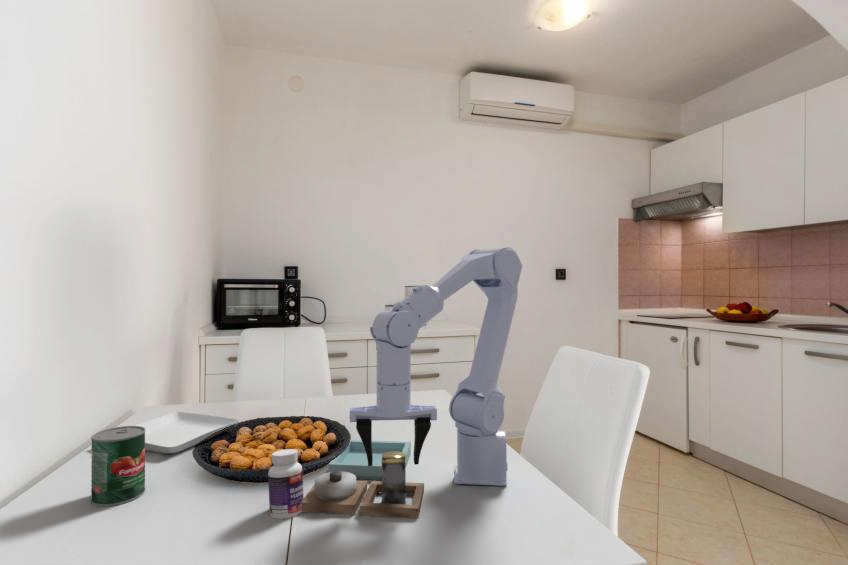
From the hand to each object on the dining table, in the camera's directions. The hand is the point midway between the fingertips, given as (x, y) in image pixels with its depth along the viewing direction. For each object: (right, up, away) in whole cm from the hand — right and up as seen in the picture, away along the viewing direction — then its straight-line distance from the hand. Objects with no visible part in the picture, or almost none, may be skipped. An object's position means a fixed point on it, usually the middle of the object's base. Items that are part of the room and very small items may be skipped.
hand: (393, 463), depth 79 cm
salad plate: (-54, -7, +32) cm, 63 cm away
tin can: (0, -7, 0) cm, 7 cm away
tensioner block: (-5, -7, 0) cm, 8 cm away
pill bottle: (-17, -7, -3) cm, 19 cm away
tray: (-5, -7, +17) cm, 19 cm away
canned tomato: (-48, -7, +3) cm, 49 cm away
